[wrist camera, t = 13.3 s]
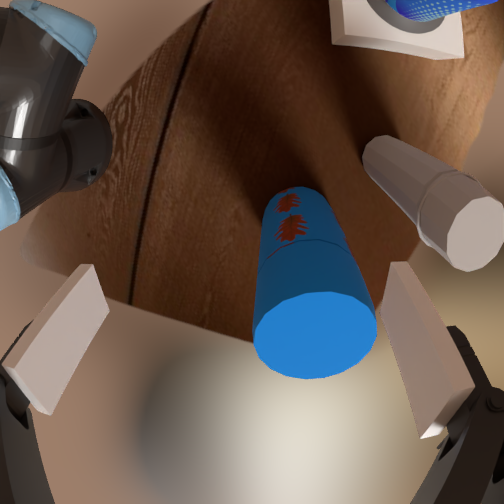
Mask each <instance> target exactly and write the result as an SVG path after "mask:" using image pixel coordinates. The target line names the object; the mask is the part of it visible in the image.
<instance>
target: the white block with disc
mask: <svg viewBox="0 0 504 504" xmlns="http://www.w3.org/2000/svg"><path fill="white" fill-rule="evenodd" d="M329 8H330V21H331V36H332V44H333V45H346V46H356V47H365V48H373V49H381V50H387V51H394V52H400V53H405V54H410V55H416V56H420V57H425V58H430V59H434V60H441V59H453V58H464V46H463V33H462V23H461V14H460V12H456V13H453V14H450V15H447V16H443V17H440V18H437V19H434V20H431V21H427V22H418V21H413V20H410V19H408V18H405V17H403V16H402V15H400V14H399V13H397V12H396V11H394V10H393V9H392V8H391V7H390V6H389V5H388V4H387V3H386V1H385V0H329Z"/></svg>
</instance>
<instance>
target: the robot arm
mask: <svg viewBox="0 0 504 504" xmlns="http://www.w3.org/2000/svg"><path fill="white" fill-rule="evenodd" d="M96 37H97V30H96V28H95V26H94V25H93V24H92V23H91V22H89V21H87V20H85V19H83V18H81V17H79V16H77V15H75V14H72V13H70V12H68V11H65V10H63V9H60V8H57V7H55V6H52V5H49V4H46V3H42V2H40V1H37V0H13V1H11V2H10V4H9V8H4V7H0V231H1V230H3V229H4V228H6V227H7V226H9V225H11V224H14V223H16V222H17V221H18V220H19V219H20V218H22V217H23V216H24V215H25V214H27V213H28V212H30V211H31V210H33V209H34V208H35V207H37V206H38V205H40V204H41V203H43V202H44V201H46V200H47V199H49V198H50V197H52V196H53V195H55V194H56V193H58V192H71V191H78V190H82V189H84V188H86V187H88V186H89V185H91V184H93V183H94V182H96V181H97V180H98V179H99V178H100V177H101V176H102V175H103V173H104V172H105V170H106V169H107V167H108V164H109V162H110V158H111V154H112V134H111V130H110V126H109V124H108V121H107V119H106V117H105V116H104V114H103V113H102V112H101V110H100V109H98V107H96V106H95V105H94V104H92V103H91V102H89V101H86V100H82V99H72V96H73V94H74V91H75V89H76V86H77V83H78V81H79V79H80V76H81V74H82V72H83V69H84V67H85V66H87V64H88V61H87V59H88V57H89V54H90V52H91V49H92V47H93V45H94V42H95V40H96ZM108 313H109V308H108V305H107V303H106V300H105V297H104V295H103V292H102V289H101V286H100V283H99V281H98V278H97V275H96V272H95V269H94V266H93V264H80V265H79V267H78V268H77V269H76V270H75V271H74V272H73V273H72V274H71V276H70V277H69V278H68V279H67V280H66V281H65V283H64V284H63V285H62V286H61V287H60V288H59V290H58V291H57V292H56V293H55V294H54V296H53V297H52V298H51V299H50V300H49V302H48V303H47V304H46V305H45V307H44V308H43V309H42V310H41V312H40V313H39V314H38V315H37V317H36V318H35V319H34V320H33V321H32V322H30V323H29V324H28V325H27V326H25V327H24V329H23V330H22V331H21V333H20V334H19V337H17V338H16V339H15V341H14V343H13V344H12V345H11V346H10V348H9V349H8V350H7V352H6V353H5V355H4V356H3V357H2V359H1V360H0V504H55V502H54V499H53V496H52V494H51V490H50V488H49V484H48V481H47V478H46V474H45V471H44V467H43V464H42V460H41V456H40V452H39V448H38V443H37V439H36V435H35V429H34V424H33V419H32V413H31V411H30V409H29V408H28V405H29V404H30V402H31V403H32V405H33V406H34V407H35V408H36V409H37V410H38V411H39V412H42V413H45V414H48V415H50V416H51V415H52V413H53V411H54V409H55V407H56V405H57V403H58V401H59V399H60V397H61V395H62V393H63V391H64V389H65V387H66V385H67V384H68V382H69V380H70V378H71V376H72V374H73V373H74V371H75V369H76V367H77V365H78V363H79V362H80V360H81V358H82V356H83V355H84V353H85V351H86V349H87V348H88V346H89V344H90V342H91V341H92V339H93V337H94V335H95V334H96V332H97V331H98V328H99V327H100V326H101V324H102V322H103V320H104V319H105V317H106V316H107V314H108ZM380 316H381V318H382V321H383V323H384V326H385V329H386V332H387V334H388V337H389V340H390V343H391V346H392V348H393V351H394V354H395V357H396V360H397V363H398V366H399V369H400V372H401V376H402V379H403V382H404V385H405V388H406V391H407V395H408V398H409V401H410V405H411V408H412V412H413V415H414V419H415V423H416V426H417V430H418V434H419V438H420V439H422V438H426V437H430V436H435V435H439V434H440V433H441V431H442V430H443V429H444V428H445V426H447V429H448V433H449V434H448V435H447V436H446V438H445V439H444V440H443V441H442V442H441V443H440V444H439V445H438V447H437V449H440V448H441V449H440V451H439V453H438V455H437V457H436V459H435V461H434V463H433V465H432V467H431V468H430V470H429V472H428V474H427V476H426V478H425V480H424V481H423V483H422V485H421V486H420V488H419V490H418V491H417V493H416V495H415V496H414V498H413V500H412V501H411V503H410V504H504V391H502V390H501V389H499V388H495V387H492V386H491V384H490V382H489V380H488V378H487V376H486V374H485V372H484V370H483V368H482V366H481V364H480V362H479V360H478V358H477V356H476V355H475V352H474V351H473V349H472V347H470V343H469V341H468V340H467V338H466V336H465V335H464V333H463V332H461V331H460V330H459V329H458V328H457V327H456V326H448V327H446V326H445V324H444V323H443V321H442V319H441V317H440V315H439V314H438V312H437V310H436V308H435V307H434V305H433V303H432V301H431V300H430V298H429V296H428V295H427V293H426V291H425V290H424V288H423V286H422V285H421V283H420V281H419V280H418V278H417V277H416V275H415V273H414V272H413V270H412V269H411V267H410V266H409V264H408V262H391V264H390V269H389V274H388V279H387V284H386V288H385V293H384V297H383V301H382V305H381V310H380Z"/></svg>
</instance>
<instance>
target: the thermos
mask: <svg viewBox="0 0 504 504" xmlns="http://www.w3.org/2000/svg"><path fill="white" fill-rule="evenodd" d="M252 331H253V342H254V347H255V349H256V351H257V354H258V356H259V358H260V359H261V360H262V361H263V362H264V363H265V364H266V365H267V366H268V367H269V368H270V369H272V370H274V371H276V372H278V373H281V374H283V375H285V376H289V377H295V378H301V379H314V378H325V377H328V376H332V375H335V374H338V373H341V372H344V371H345V370H347V369H349V368H351V367H352V366H354V365H356V364H357V363H358V362H359V361H361V359H363V357H364V356H365V355H366V354H367V353H368V352H369V351H370V350H371V348H372V346H373V343H374V341H375V339H376V337H377V326H376V316H375V310H374V306H373V303H372V300H371V298H370V295H369V293H368V290H367V287H366V285H365V282H364V280H363V277H362V275H361V272H360V270H359V268H358V265H357V263H356V260H355V258H354V255H353V253H352V251H351V248H350V246H349V244H348V241H347V239H346V237H345V235H344V232H343V230H342V228H341V226H340V223H339V221H338V219H337V217H336V215H335V213H334V212H333V210H332V209H331V207H330V205H329V204H328V202H327V201H326V199H325V197H323V196H322V195H321V194H319V193H318V192H317V191H315V190H313V189H309V188H306V187H290V188H288V189H285V190H283V191H281V192H279V193H277V194H276V195H275V196H274V197H273V198H272V199H271V200H270V201H269V203H268V205H267V207H266V209H265V212H264V216H263V221H262V231H261V242H260V253H259V265H258V276H257V287H256V298H255V308H254V319H253V330H252Z"/></svg>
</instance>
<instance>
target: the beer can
mask: <svg viewBox="0 0 504 504" xmlns="http://www.w3.org/2000/svg"><path fill="white" fill-rule="evenodd" d="M385 1H386V3H387V4H388V5H389V6H390V7H391V8H392V9H393V10H394V11H396V12H397V13H399V14H400V15H402V16H403V17H405V18H408V19H410V20H413V21H418V22H427V21H431V20H434V19H437V18H440V17H443V16H447V15H450V14H453V13H456V12H460V11H463V10H467V9H471V8H475V7H478V6H482V5H487V4H491V3H494V2H496V1H498V0H385Z"/></svg>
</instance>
